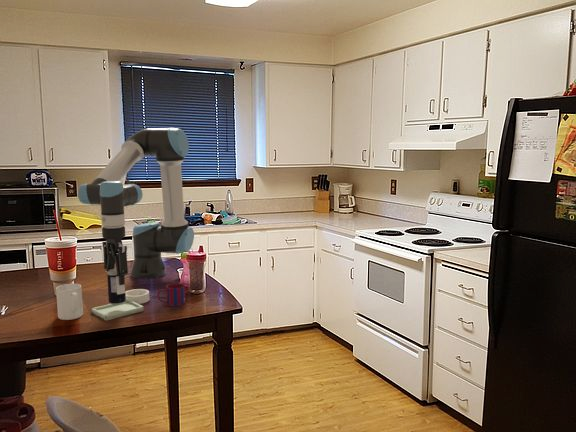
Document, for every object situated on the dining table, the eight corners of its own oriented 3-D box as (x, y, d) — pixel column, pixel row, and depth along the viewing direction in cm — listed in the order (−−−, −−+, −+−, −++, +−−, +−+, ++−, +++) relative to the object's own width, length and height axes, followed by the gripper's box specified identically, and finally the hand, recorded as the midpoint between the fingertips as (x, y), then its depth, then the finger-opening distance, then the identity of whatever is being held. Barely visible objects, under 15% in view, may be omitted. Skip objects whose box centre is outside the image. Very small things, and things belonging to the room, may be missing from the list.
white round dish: (141, 295, 199) (141, 287, 198) (154, 300, 192) (153, 292, 192) (119, 300, 192) (118, 292, 192) (131, 306, 186) (130, 298, 185)
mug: (55, 315, 176) (53, 286, 174) (78, 310, 181) (77, 282, 179) (65, 325, 166) (63, 294, 165) (90, 320, 171) (88, 290, 170)
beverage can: (128, 301, 181) (127, 268, 179) (120, 306, 176) (118, 272, 174) (114, 300, 182) (112, 267, 181) (105, 305, 177) (103, 271, 175)
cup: (186, 305, 187) (186, 287, 186) (158, 308, 183) (158, 290, 182) (183, 299, 193) (182, 282, 192) (156, 303, 189) (155, 285, 188)
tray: (128, 303, 188) (128, 299, 188) (143, 310, 181) (143, 306, 180) (91, 312, 179) (91, 308, 178) (105, 320, 171) (105, 316, 171)
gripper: (90, 224, 179) (94, 288, 182) (115, 231, 166) (119, 299, 169) (111, 221, 184) (114, 284, 188) (136, 228, 171) (139, 295, 175)
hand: (116, 291), depth 178 cm, fingers closed on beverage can, 6 cm apart
